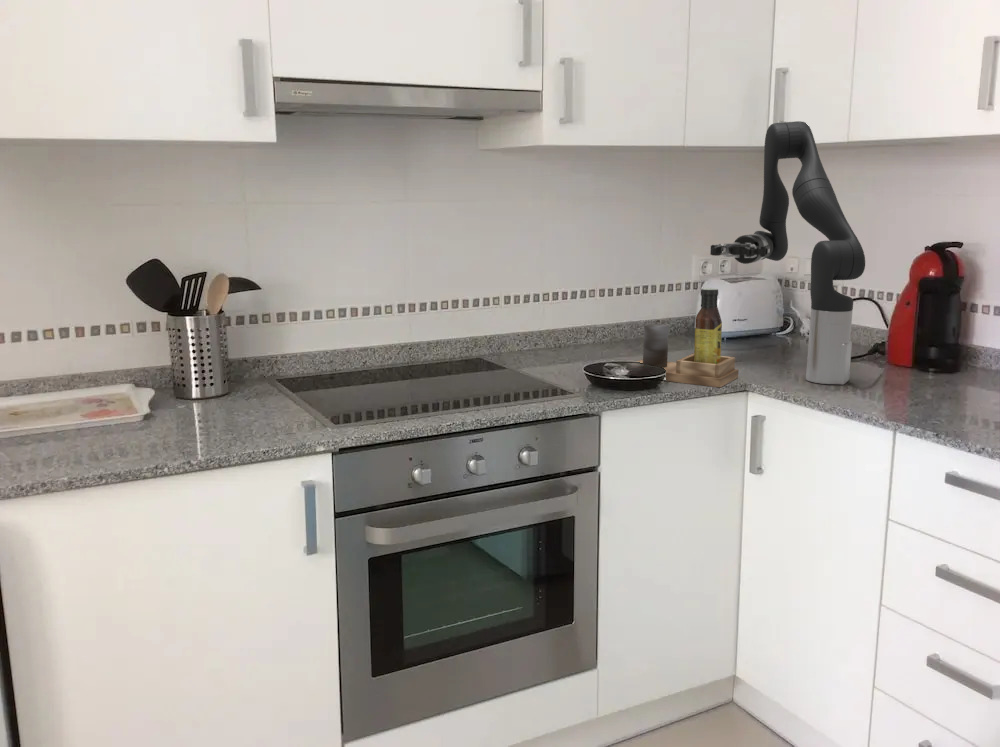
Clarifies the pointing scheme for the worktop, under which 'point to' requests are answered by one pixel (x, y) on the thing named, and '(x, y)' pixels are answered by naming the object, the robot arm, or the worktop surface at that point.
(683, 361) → the condiment caddy
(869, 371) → the worktop surface
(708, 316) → the sauce bottle
